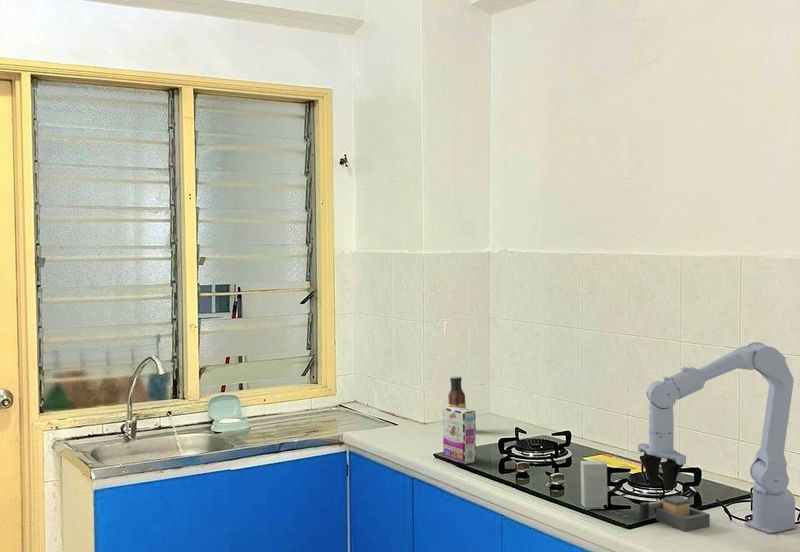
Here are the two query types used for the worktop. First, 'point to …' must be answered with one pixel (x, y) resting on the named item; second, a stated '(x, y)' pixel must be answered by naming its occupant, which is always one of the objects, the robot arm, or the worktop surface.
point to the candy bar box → (459, 433)
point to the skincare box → (593, 483)
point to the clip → (650, 508)
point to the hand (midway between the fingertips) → (661, 487)
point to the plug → (677, 505)
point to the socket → (684, 519)
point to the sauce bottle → (456, 393)
